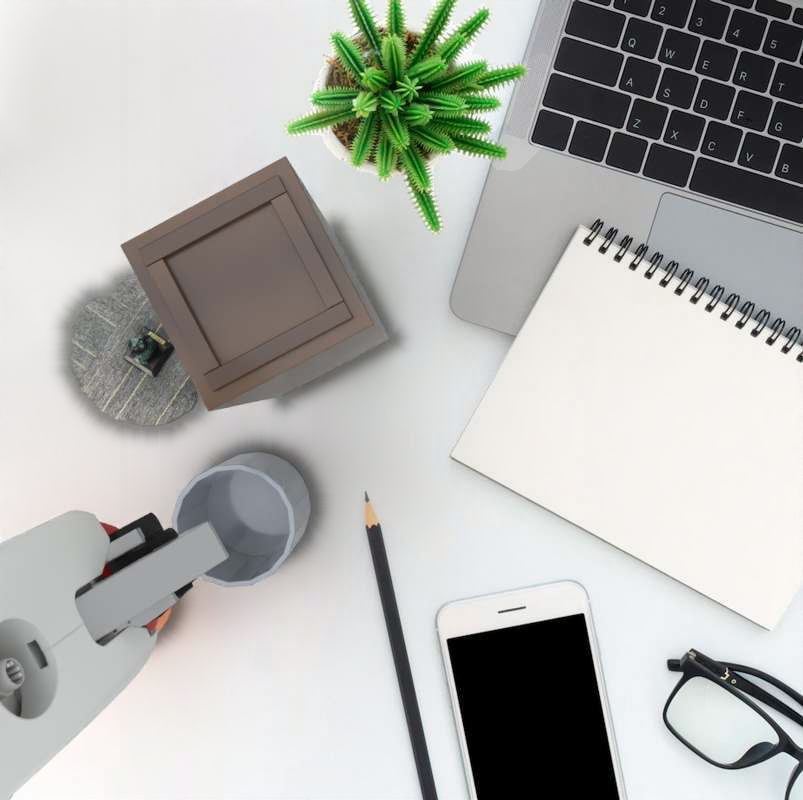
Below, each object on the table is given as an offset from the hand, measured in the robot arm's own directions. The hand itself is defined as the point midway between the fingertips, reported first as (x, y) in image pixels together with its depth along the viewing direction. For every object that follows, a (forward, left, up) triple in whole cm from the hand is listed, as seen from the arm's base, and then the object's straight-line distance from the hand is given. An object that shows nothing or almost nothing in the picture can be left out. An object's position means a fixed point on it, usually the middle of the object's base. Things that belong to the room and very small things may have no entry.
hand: (88, 593), depth 32 cm
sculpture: (-13, -4, -38) cm, 40 cm away
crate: (-10, +9, -37) cm, 40 cm away
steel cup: (+2, -2, -37) cm, 37 cm away
